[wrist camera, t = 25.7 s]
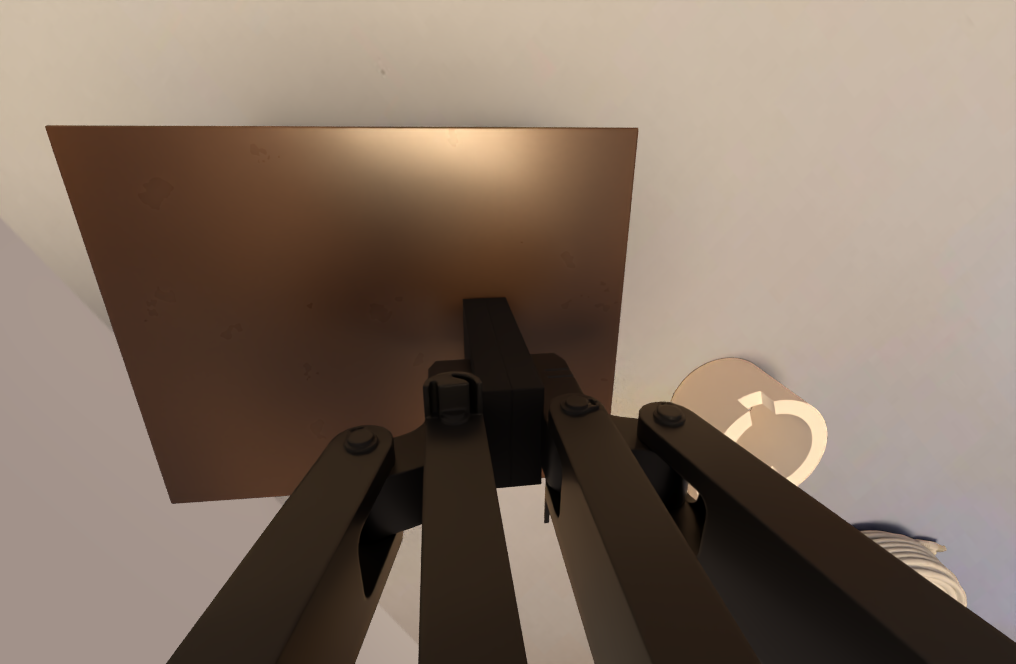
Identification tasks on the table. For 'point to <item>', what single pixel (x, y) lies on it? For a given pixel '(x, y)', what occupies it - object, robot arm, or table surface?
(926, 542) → the cable
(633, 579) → the robot arm
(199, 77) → the table surface
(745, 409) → the bracket
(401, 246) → the lid
